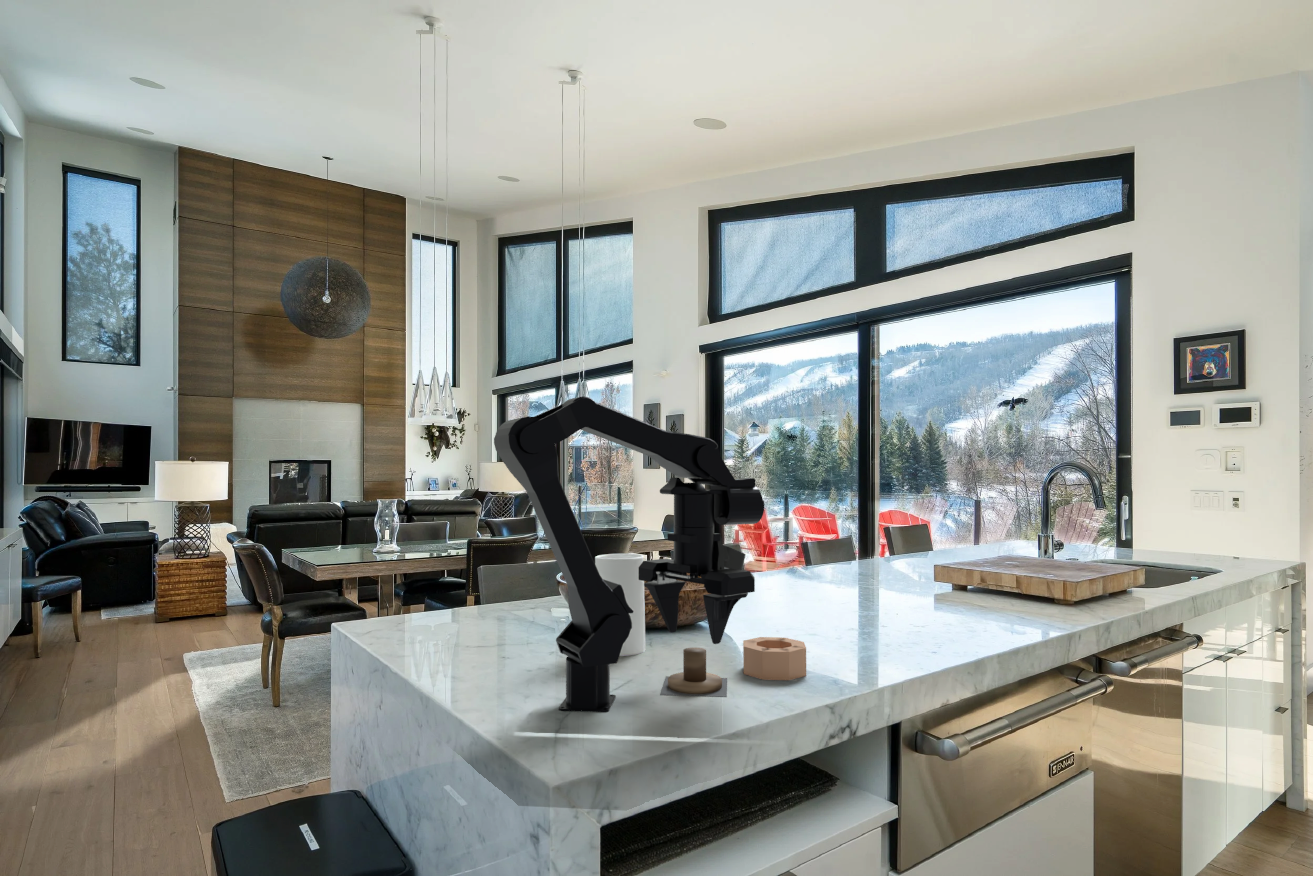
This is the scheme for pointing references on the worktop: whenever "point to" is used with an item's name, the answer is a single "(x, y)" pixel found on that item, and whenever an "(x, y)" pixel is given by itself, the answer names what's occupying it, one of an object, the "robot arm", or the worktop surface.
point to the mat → (719, 693)
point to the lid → (694, 675)
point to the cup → (627, 594)
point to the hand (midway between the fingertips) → (693, 637)
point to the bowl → (774, 658)
